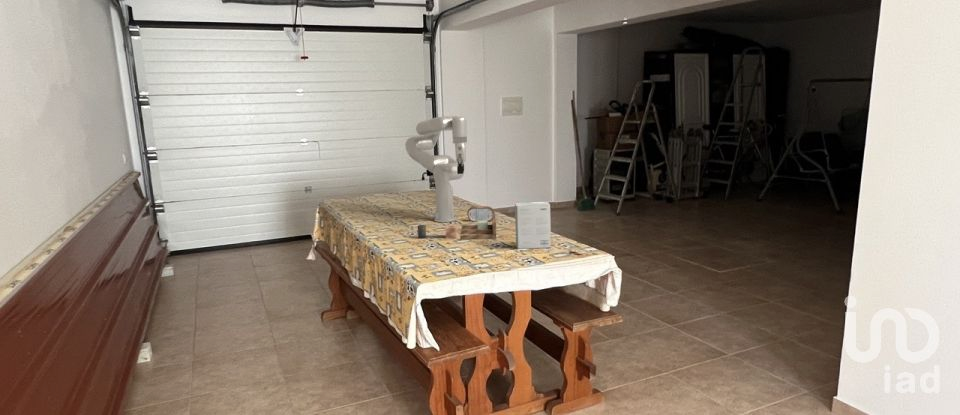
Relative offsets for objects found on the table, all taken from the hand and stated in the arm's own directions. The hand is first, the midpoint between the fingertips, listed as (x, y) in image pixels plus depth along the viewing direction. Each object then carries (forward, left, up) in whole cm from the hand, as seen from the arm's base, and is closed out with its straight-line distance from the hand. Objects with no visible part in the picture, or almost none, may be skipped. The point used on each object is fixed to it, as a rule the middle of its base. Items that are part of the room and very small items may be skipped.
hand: (460, 172), depth 313 cm
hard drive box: (+34, -50, -28) cm, 67 cm away
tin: (+10, +7, -29) cm, 31 cm away
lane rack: (+8, -23, -28) cm, 37 cm away
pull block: (-12, -28, -28) cm, 41 cm away
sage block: (+11, -17, -28) cm, 35 cm away
